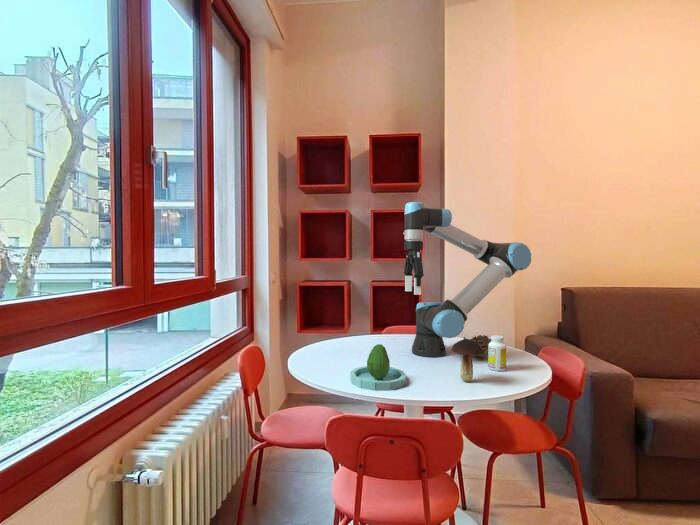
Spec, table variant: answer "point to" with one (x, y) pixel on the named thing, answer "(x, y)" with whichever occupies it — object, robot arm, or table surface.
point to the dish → (367, 381)
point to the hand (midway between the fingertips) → (412, 292)
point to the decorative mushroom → (466, 356)
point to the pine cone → (482, 344)
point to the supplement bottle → (497, 354)
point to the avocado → (378, 362)
